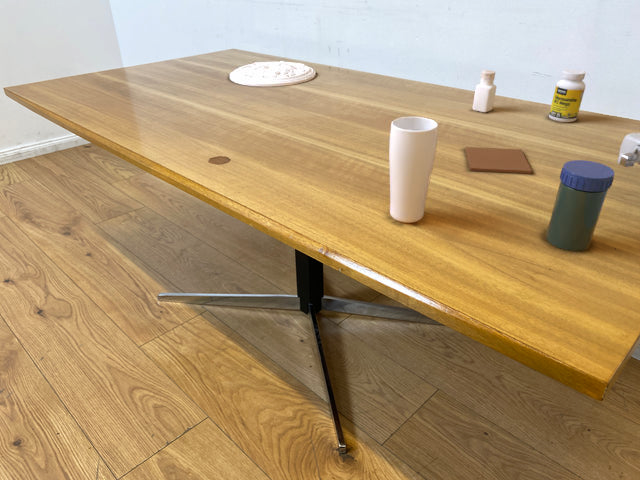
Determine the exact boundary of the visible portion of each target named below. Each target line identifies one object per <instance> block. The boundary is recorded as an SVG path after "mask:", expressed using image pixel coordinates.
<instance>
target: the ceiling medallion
mask: <svg viewBox="0 0 640 480" xmlns="http://www.w3.org/2000/svg"><path fill="white" fill-rule="evenodd" d="M316 73H317V72H316V70H315V69H313V68H312V67H310V66H308V65H306V64H304V63H302V62H300V63H299V62H292V61H284V60H280V61H264V62H263V61H256V62H253V63H250V64H245V65H242V66H239V67H237V68H235V69H234V70H233V71H231V72H230V73H229V80H230V81H232V82H233V83H236V84H239V85H242V86H243V85H244V86H250V87H284V86H291V85H299V84H302V83H306V82H309V81H311V80H313V79H314V78H315V77H316Z"/></svg>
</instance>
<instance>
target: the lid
mask: <svg viewBox="0 0 640 480" xmlns="http://www.w3.org/2000/svg"><path fill="white" fill-rule="evenodd" d="M559 179H560V181H562V182H563V183H564V184H565V185H567V186H569V187H571V188H574V189H578V190H582V191H589V192H600V191H605V190H607V189H608V190H609V189H610V188H611V187H612V186H613V182H614V179H615V170H614V169H613V168H612V167H610V166H609V165H607V164H603V163H600V162H596V161H592V160H586V159H585V160H583V159H576V160H575V159H574V160H569V161H566V162H564V164H563V166H562V167H561V170H560V175H559Z"/></svg>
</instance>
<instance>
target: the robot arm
mask: <svg viewBox="0 0 640 480" xmlns="http://www.w3.org/2000/svg"><path fill="white" fill-rule="evenodd" d="M618 154H619V155H618V159H617V161H616V162H617V164H618V165H621V166H623V167H625V168H628V167H629V168H630V167H634V165H635V164H637V165H639V166H640V132H631V133H627V134H626V135H625V136H624V138H623V140H622V142H621V144H620V148H619V152H618Z"/></svg>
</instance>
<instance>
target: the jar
mask: <svg viewBox="0 0 640 480" xmlns="http://www.w3.org/2000/svg"><path fill="white" fill-rule="evenodd" d="M608 192H609V189H607V190H605V191H600V192H589V191H582V190H578V189H574V188H571V187H569V186H567V185H565V184H564V183H563V182H562V181H561V180H560V182H559V185H558V189H557V193H556V197H555V200H554V203H553V207H552V211H551V215H550V218H549V222H548V226H547V230H546V233H545V239H546V241H547V242H548V243H549V244H551V246H553V247H556V248H557V249H561V250H565V251H569V252H570V251H571V252H582V251H585V250H587V249H588V248H589V247H590V246H591V243H592V240H593V236H594V233H595V231H596V228H597V225H598V222H599V218H600V216H601V212H602V210H603V206H604V203H605V200H606V197H607V194H608Z"/></svg>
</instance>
